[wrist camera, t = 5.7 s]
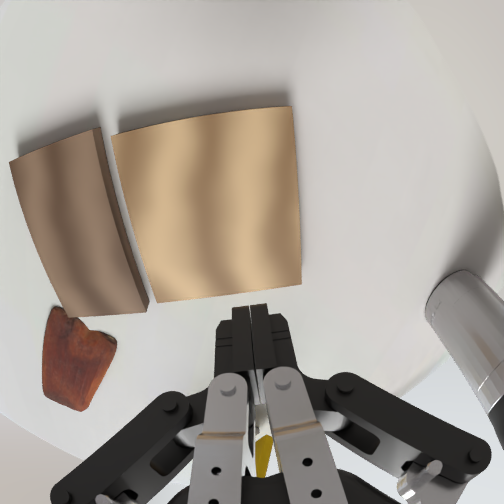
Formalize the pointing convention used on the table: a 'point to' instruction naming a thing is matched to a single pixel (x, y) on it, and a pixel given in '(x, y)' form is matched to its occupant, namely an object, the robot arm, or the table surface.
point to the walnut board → (79, 226)
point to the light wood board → (214, 202)
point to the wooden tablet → (74, 360)
